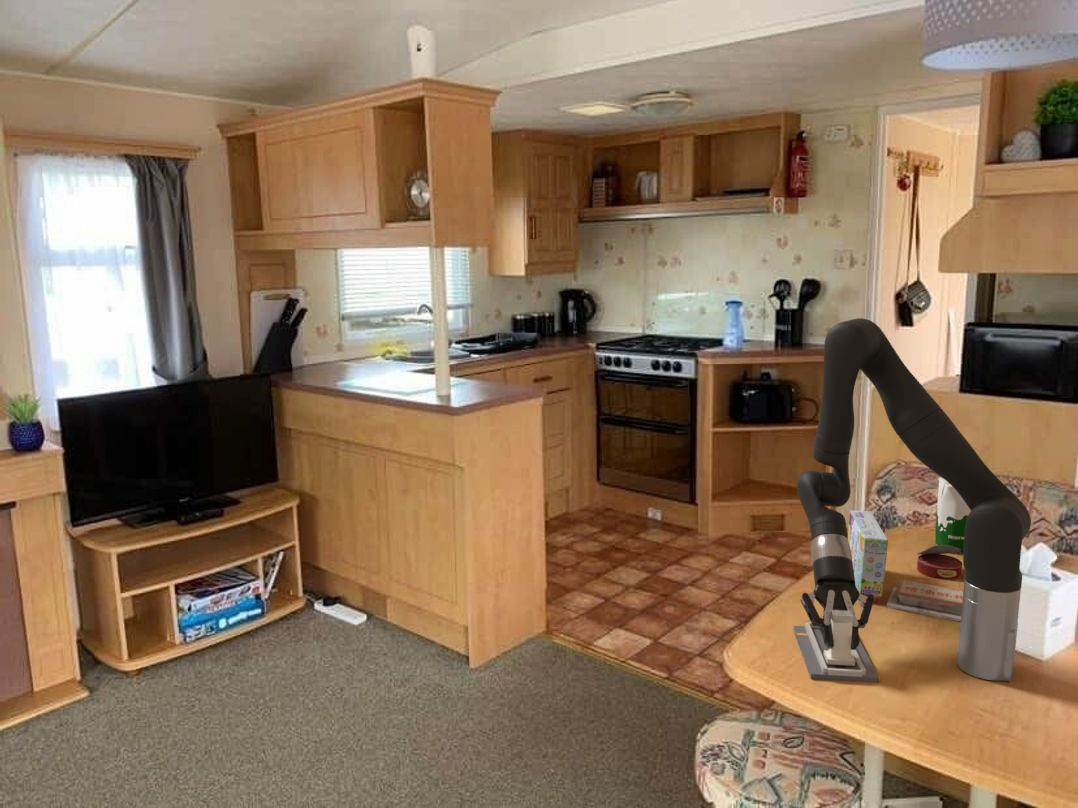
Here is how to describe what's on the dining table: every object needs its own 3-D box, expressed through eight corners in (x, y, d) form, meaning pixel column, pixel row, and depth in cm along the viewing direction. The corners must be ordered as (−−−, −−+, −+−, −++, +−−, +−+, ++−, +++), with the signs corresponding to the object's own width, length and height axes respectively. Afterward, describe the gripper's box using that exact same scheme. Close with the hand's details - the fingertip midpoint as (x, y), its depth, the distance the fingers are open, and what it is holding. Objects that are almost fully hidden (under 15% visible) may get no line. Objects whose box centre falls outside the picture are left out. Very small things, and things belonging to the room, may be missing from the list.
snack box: (885, 603, 186) (889, 539, 183) (858, 601, 187) (862, 538, 184) (867, 567, 206) (871, 509, 203) (844, 566, 207) (847, 508, 204)
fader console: (853, 632, 172) (853, 623, 172) (878, 682, 152) (879, 672, 152) (793, 630, 174) (793, 621, 173) (810, 678, 154) (811, 669, 154)
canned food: (920, 592, 202) (901, 555, 203) (932, 576, 210) (914, 540, 210) (966, 583, 195) (946, 544, 195) (977, 566, 202) (958, 529, 202)
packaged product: (982, 589, 182) (979, 605, 174) (980, 609, 183) (977, 627, 175) (894, 573, 191) (887, 588, 183) (892, 592, 192) (885, 609, 184)
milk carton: (965, 543, 222) (971, 470, 218) (977, 555, 213) (984, 480, 209) (930, 541, 223) (936, 469, 220) (940, 553, 215) (946, 479, 211)
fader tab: (850, 656, 159) (853, 609, 158) (854, 665, 156) (857, 617, 154) (823, 655, 160) (826, 608, 158) (827, 664, 157) (829, 616, 155)
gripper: (798, 553, 163) (806, 639, 153) (873, 555, 161) (887, 643, 151) (792, 568, 169) (800, 652, 159) (865, 570, 167) (877, 656, 157)
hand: (842, 647), depth 155 cm, fingers closed on fader tab, 3 cm apart
